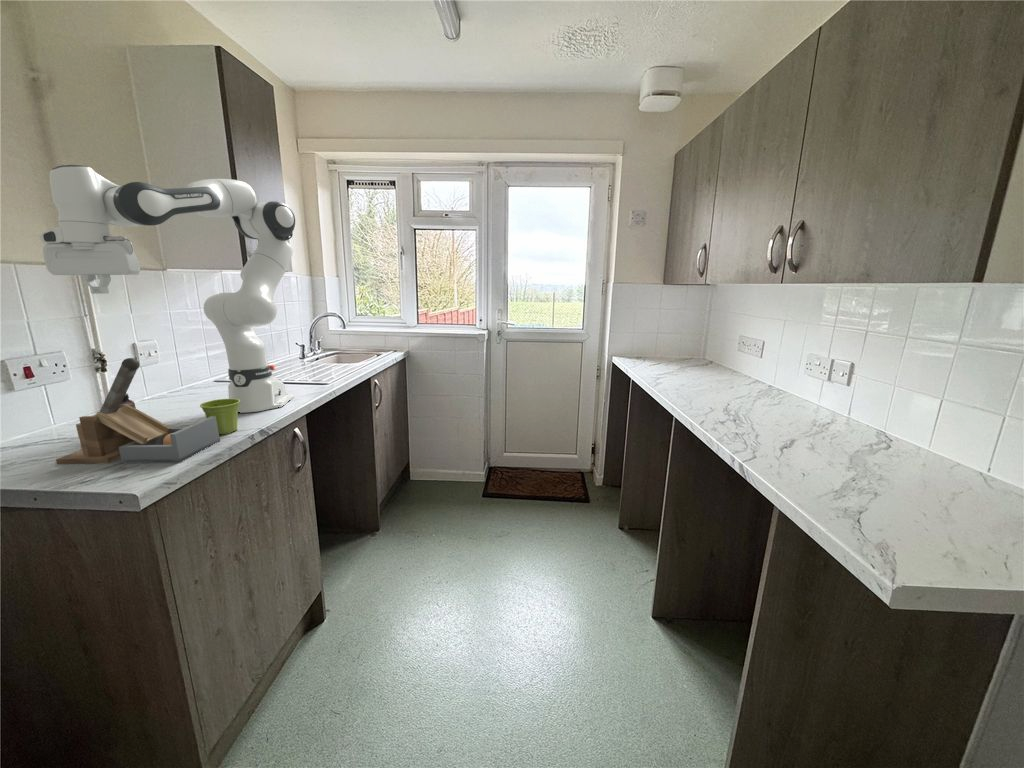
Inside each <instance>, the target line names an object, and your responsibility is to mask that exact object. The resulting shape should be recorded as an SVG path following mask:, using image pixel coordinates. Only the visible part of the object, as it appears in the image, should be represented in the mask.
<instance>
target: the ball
mask: <svg viewBox="0 0 1024 768" xmlns="http://www.w3.org/2000/svg"><path fill="white" fill-rule="evenodd" d="M171 434H172V433H171ZM163 444H164V445H172V444H171V439H170V434H168V435H166V436H165V437H164V439H163Z"/></svg>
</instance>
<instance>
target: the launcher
mask: <svg viewBox="0 0 1024 768" xmlns="http://www.w3.org/2000/svg"><path fill="white" fill-rule="evenodd" d="M139 368H140V362H139V361H138V360H137V359H136V358H132V357H131V358H130V357H129V358H125V359H123V360H122V361H121V364H120V367H119V369H118V372H117V373H116V376H115V378H114V380H113V381H112V382H113V383H112V384H111V387H110V388H109V390H108V393H107V395H106V397H105V399H104V401H103V403H102V407H101V408H100V410H99V411H98V412H96V414H95V415H93V416H96V417H97V421H99V422H100V423H102V424H104V425H106V426H108V427H110V428H112V429H113V430H115V431H117V432H119V433H121V434H123V435H125V436H127V437H128V438H130V439H132V440H134V441H136V442H138V443H140V444H142V445H143V444H146V443H148V442H150V441H153V440H155V439H157V438H160V437H162V436H164V435H167V434H168V433H169V431H170V429H171V428H172V427H170V426H169V425H167V424H165V423H163V422H161V421H159V420H158V419H156V418H154V417H152V416H150V415H148V414H147V413H145V412H144V411H141V410H139V409H137V408H134V407H132V406H130V405H128V404H124V405H123V407H120V405H121V403H122V401H123V399H124V396H125V394H126V393H127V392H128V390H129V389H130V385H131V384H132V381H133V379H134V377H135V375H136V373H137V371H138V370H139ZM119 407H120V408H119Z"/></svg>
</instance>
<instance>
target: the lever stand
mask: <svg viewBox="0 0 1024 768" xmlns="http://www.w3.org/2000/svg"><path fill="white" fill-rule="evenodd" d="M123 405H124V404H122V405H120V407H123ZM128 405H130V406H132V407H134V408H135V407H136V404H128ZM75 427H76V431H77V436H78V439H79V443H80V447H81V449H79V450H77V451H74V452H72V453H68V454H66V455H64V456H61V457H58V458H56V459H55V462H56V465H77V464H78V465H81V464H83V465H84V464H85V465H88V464H89V465H90V464H91V465H92V464H93V465H94V464H95V465H96V464H97V465H99V464H111V463H112V462H115V461H117V460H119V459H121V456H120V451H119V447H120V446H123V445H125V444H128V443H130V442H133V441H134V440H132V439H130V438H128V437H127V436H125V435H123V434H121V433H119V432H117V431H115V430H113V429H112V428H110V427H108V426H106V425H104V424H102V423H100V422H99V421H97V417H96V416H94V415H86V416H85V415H83V416H80V417H79V423H76V424H75Z"/></svg>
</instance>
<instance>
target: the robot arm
mask: <svg viewBox="0 0 1024 768" xmlns="http://www.w3.org/2000/svg"><path fill="white" fill-rule="evenodd" d="M49 184H50V191H51V192H50V193H51V197H52V201H53V204H54V206H55V208H56V209H57V212H58V216H57V222H58V225H59V226H56V227H54V228H52V229H50V230H48V231H47V230H46V231H44V232H41V233H40V234H39V239H40V242H42V243H43V244H44V245H43V247H42V255H43V259H44V262H45V263H44V265H45V267H46V269H47V271H48V272H49V273H50V274H51V275H53V276H81V277H82V280H83V281H84V283H85V284H86V285H87V286H88V287H89V290H90V293H91V294H92V295H94V294H96V295H97V294H101V295H103V294H105V295H106V294H109V293H110V292H109V285H110V282H111V281H112V278H111V277H112V276H116V275H117V276H122V275H124V276H127V275H129V276H130V275H132V276H133V275H135V276H137V275H139V274H140V272H141V266H140V263H139V259H138V257H137V254H136V252H135V250H134V245H133V243H132V241H130V240H129V239H128V238H126V237H125V236H121V235H119V236H114V235H113V236H112V234H111V233H112V231H111V228H110V225H114V226H117V227H121V228H134V227H144V226H151V227H152V226H158V225H161V224H163V223H165V222H167V221H168V220H169V219H171V217H173V216H177V215H182V214H191V213H196V214H197V215H198V216H200V217H202V218H205V219H224V218H231V219H232V220H233V222H234V226H235V228H236V229H237V231H238V232H239V234H241V235H242V236H243V237H245V238H247V239H251V240H257V246H256V248H255V250H254V251H253V253H252V254H251V256H249V258H248V259H247V261H246V263H245V264H244V266H243V267H242V269H241V271H240V278H241V280H242V284H241V287H240V288H239V289H238V290H237V291H236V292H220V293H216V294H213V295H212V296H209V297H208V298H206V300H205V302H204V303H203V312H204V315H205V316H206V318H207V319H208V320H210V322H212V323H213V325H214V326H215V327H216V329H217V331H218V333H219V334H220V337H221V339H222V342H223V344H224V348H225V351H226V356H227V361H228V367H229V368H228V369H227V371H228V372H227V375H228V377H229V380H230V383H228V385H227V388H228V389H227V391H228V399H239V400H240V403H239V406H238V412H240V413H246V414H247V413H254V412H255V413H256V412H262V411H267V410H271V409H278V407H279V408H283V407H284V406H285V405H286V404H288V403H289V402H290V401H291V400H293V398H294V394H292V393H291V394H290V393H286V392H287V391H286V386H285V384H284V382H282V381H281V380H279V379H278V378H276V377H275V376H273V372H272V371H275V369H276V366H275V365H274V364H268V360H267V350H266V346H265V343H264V341H262V339H260V337H259V336H258V335H257V334H256V332H255V330H254V328H256V327H261V326H265V325H268V324H269V325H270V324H271V323H273V321H274V320H275V319H276V317H277V305H276V303H275V302H274V295H275V292H276V290H277V287H278V286H279V284H280V281H281V280H282V278H283V277H284V275H285V273H286V272H287V270H288V268H289V265H290V263H291V260H292V257H293V248H292V246H291V244H290V243H289V242H288V241H289V240H290V239H292V237H293V235H294V234H293V232H294V230H295V226H296V216H295V214H294V211H293V210H292V208H291V207H290V206H289V205H288V204H286V203H284V202H282V201H278V200H276V201H275V200H274V201H273V200H270V201H268V202H267V201H265V202H260V201H259V200H258V199H257V195H256V192H255V191H254V189H253V188H252V187H251V185H249V184H248V183H247V182H244V181H242V180H237V179H232V178H231V179H230V178H207V179H206V178H205V179H201V180H196V181H193V182H190V183H189V184H188V185H187V187H176V188H175V187H174V188H162V187H159V186H156V185H152V184H149V183H146V182H142V181H141V182H140V181H132V182H131V181H130V182H128V183H126V184H122V185H119V184H116V183H114V182H112V181H110V180H109V179H107V178H105V177H104V176H103V175H100V174H98V173H97V172H96V171H95V170H94V169H93V168H92V167H89V166H87V165H80V164H79V165H78V164H67V165H66V164H65V165H64V164H62V165H59V166H54V167H53V168H52V169H50V172H49ZM97 279H98V280H99V283H97V281H96V280H97ZM289 400H290V401H289ZM288 401H289V402H288ZM283 405H284V406H283ZM282 406H283V407H282Z"/></svg>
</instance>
